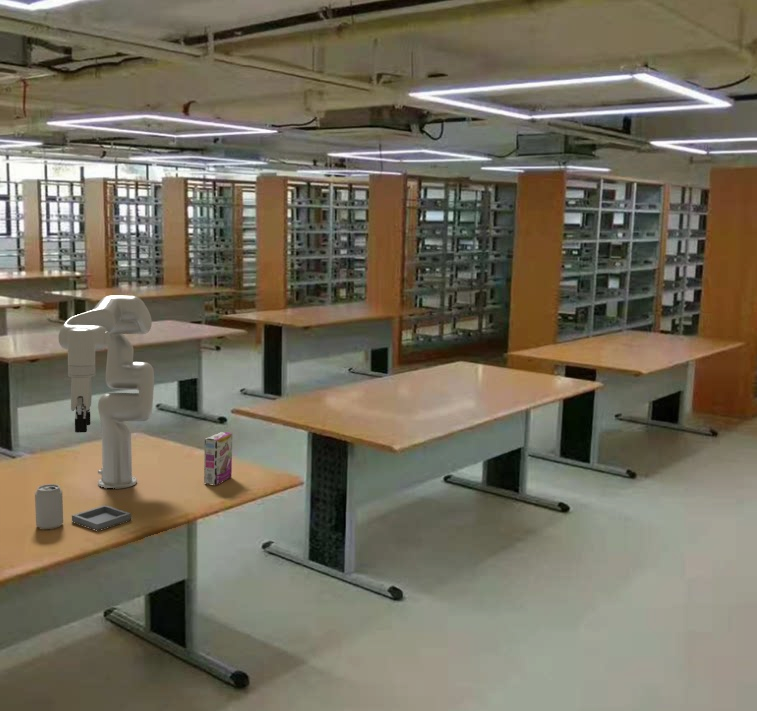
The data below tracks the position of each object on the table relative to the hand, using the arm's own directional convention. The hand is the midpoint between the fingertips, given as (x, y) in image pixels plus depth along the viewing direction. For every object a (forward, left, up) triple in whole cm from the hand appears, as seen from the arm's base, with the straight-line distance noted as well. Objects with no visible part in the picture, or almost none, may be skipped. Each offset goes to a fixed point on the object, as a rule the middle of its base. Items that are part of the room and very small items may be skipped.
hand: (82, 428), depth 244 cm
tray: (+3, +3, -29) cm, 29 cm away
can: (-5, -8, -29) cm, 31 cm away
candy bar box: (+1, +53, -29) cm, 61 cm away
